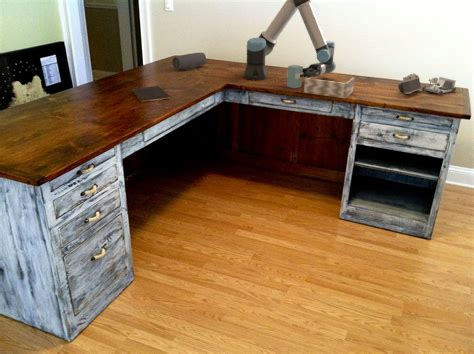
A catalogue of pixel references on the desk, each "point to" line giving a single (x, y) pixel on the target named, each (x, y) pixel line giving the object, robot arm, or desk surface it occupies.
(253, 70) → the robot arm
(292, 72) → the teal block
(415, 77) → the camera
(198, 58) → the bluetooth speaker
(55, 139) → the desk surface
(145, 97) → the hardcover book
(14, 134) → the desk surface
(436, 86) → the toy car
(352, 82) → the arena
